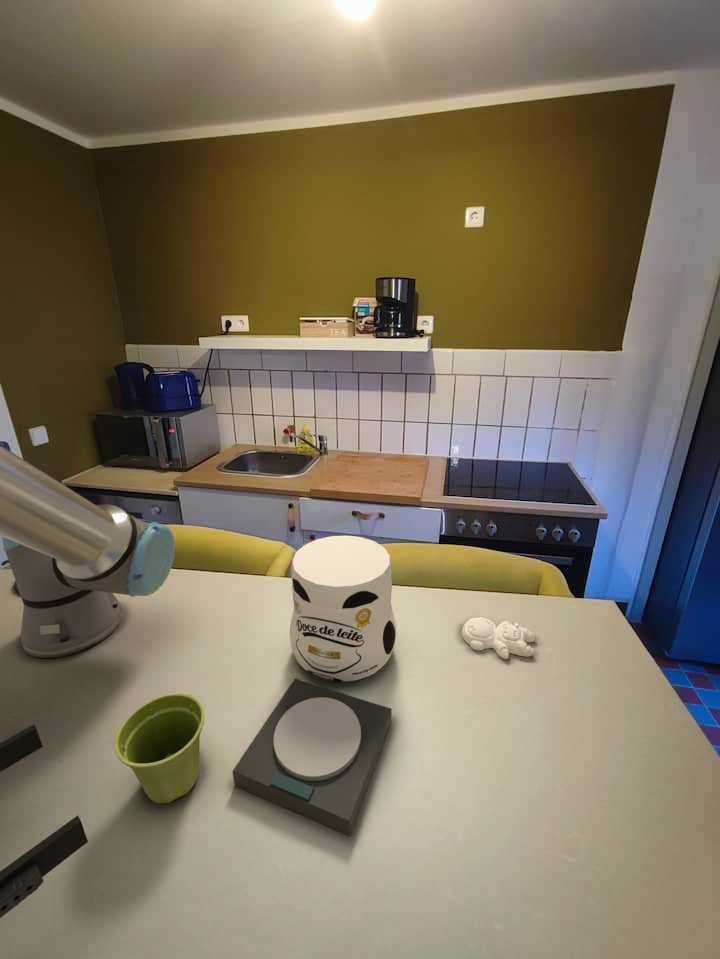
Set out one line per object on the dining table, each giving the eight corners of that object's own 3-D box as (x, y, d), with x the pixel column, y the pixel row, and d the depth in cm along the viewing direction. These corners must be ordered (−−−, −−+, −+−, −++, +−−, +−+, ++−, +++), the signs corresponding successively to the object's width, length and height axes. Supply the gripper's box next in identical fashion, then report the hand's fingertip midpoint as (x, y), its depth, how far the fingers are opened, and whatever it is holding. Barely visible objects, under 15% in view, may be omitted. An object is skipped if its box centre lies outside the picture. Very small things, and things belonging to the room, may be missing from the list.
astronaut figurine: (530, 669, 68) (533, 653, 67) (456, 644, 73) (457, 630, 72) (537, 635, 75) (539, 621, 74) (469, 615, 81) (470, 601, 79)
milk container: (302, 707, 62) (295, 602, 55) (284, 629, 77) (276, 541, 71) (412, 677, 67) (417, 578, 60) (374, 610, 82) (375, 526, 76)
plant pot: (185, 829, 47) (173, 773, 44) (111, 811, 49) (94, 756, 46) (227, 750, 55) (219, 699, 52) (162, 737, 57) (151, 687, 54)
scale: (234, 785, 51) (231, 766, 50) (296, 690, 64) (294, 673, 63) (350, 836, 46) (349, 816, 45) (391, 722, 59) (392, 704, 58)
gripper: (-274, 902, 35) (33, 730, 50) (-365, 1351, 20) (117, 909, 35) (-324, 844, 33) (15, 680, 48) (-473, 1306, 17) (98, 850, 32)
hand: (59, 776), depth 41 cm, fingers open, 13 cm apart
